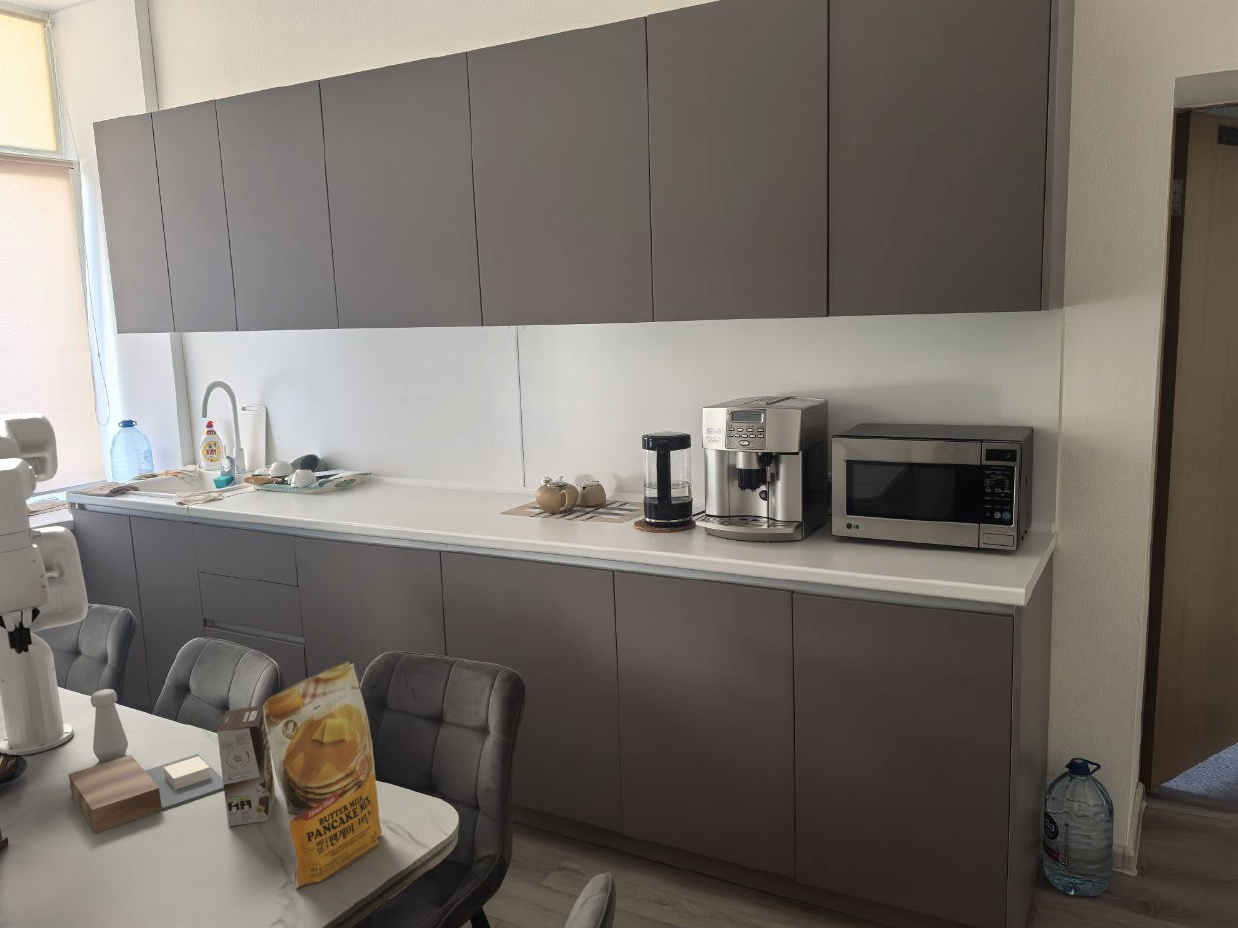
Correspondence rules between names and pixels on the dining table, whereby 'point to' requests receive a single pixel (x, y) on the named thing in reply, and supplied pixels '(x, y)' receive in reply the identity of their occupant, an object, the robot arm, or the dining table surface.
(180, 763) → the cream square block
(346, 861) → the pancake mix bag
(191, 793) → the mat
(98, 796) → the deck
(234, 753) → the coffee box
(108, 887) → the dining table surface
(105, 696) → the salt shaker
